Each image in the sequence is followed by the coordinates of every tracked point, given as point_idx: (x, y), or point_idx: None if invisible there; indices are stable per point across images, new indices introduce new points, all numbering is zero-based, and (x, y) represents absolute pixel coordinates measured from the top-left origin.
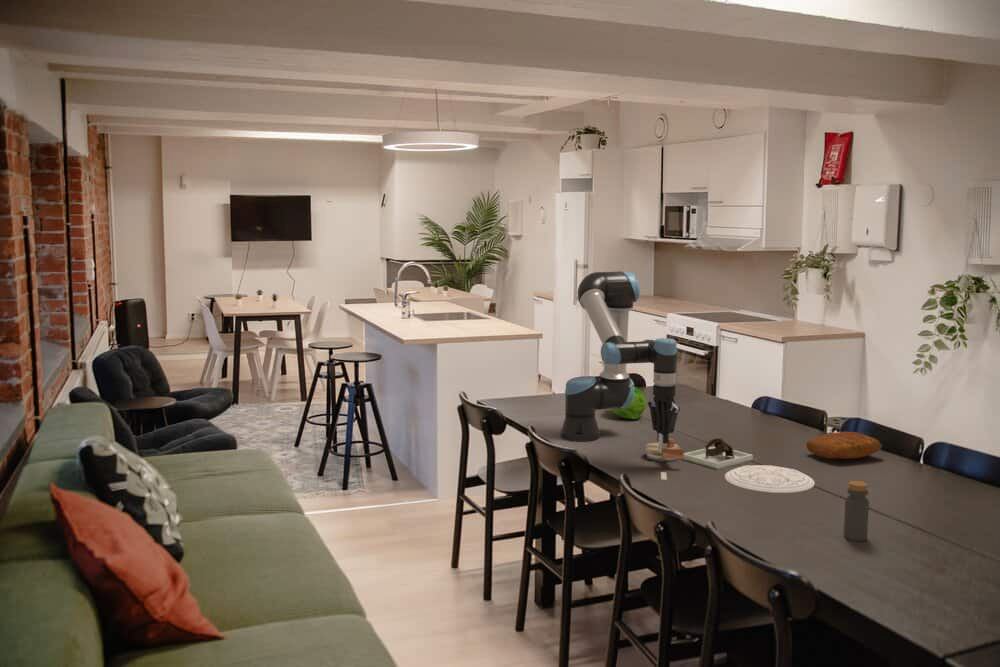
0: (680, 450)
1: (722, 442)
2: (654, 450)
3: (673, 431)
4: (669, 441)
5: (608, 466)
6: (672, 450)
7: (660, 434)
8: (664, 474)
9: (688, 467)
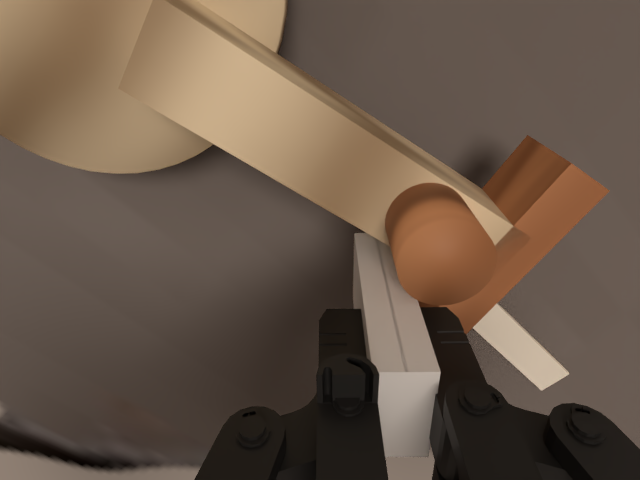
0: (574, 213)
1: None
2: (172, 164)
3: (613, 426)
4: (456, 295)
5: (168, 421)
6: (511, 281)
7: (400, 450)
8: (503, 326)
9: (514, 39)
